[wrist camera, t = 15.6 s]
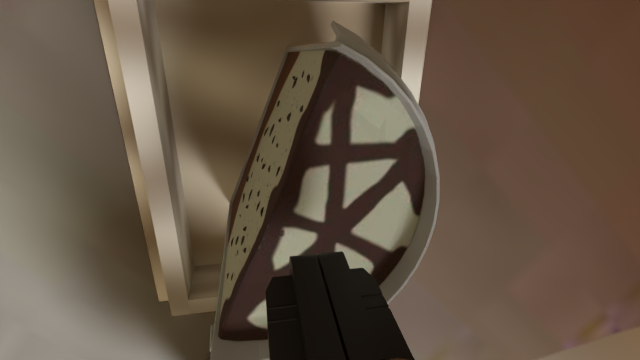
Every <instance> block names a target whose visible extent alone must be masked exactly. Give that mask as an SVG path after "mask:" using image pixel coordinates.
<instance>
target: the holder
mask: <svg viewBox="0 0 640 360" xmlns="http://www.w3.org/2000/svg"><path fill="white" fill-rule="evenodd" d="M94 4H95V8H96V13H97V18H98V22H99V27H100V32H101V36H102V41H103V45H104V50H105V55H106V59H107V64H108V68H109V73H110V78H111V82H112V87H113V91H114V96H115V101H116V105H117V110H118V115H119V119H120V124H121V128H122V133H123V138H124V142H125V147H126V151H127V156H128V161H129V165H130V170H131V175H132V179H133V184H134V188H135V193H136V198H137V202H138V207H139V211H140V216H141V221H142V225H143V230H144V234H145V239H146V244H147V248H148V253H149V258H150V262H151V267H152V271H153V276H154V281H155V285H156V290H157V294H158V299H159V302H160V301H169V305H170V310H171V315H172V316H178V315H187V314H195V313H204V312H212V311H216V307H217V299H218V291H219V283H220V275H221V267H222V259H223V251H224V243H225V235H226V227H227V219H228V211H229V204H230V201H231V198H232V195H233V192H234V190H235V187H236V184H237V181H238V179H239V176H240V173H241V170H242V168H243V165H244V162H245V160H246V157H247V154H248V151H249V149H250V146H251V143H252V140H253V138H254V135H255V132H256V129H257V127H258V124H259V121H260V119H261V116H262V113H263V110H264V108H265V105H266V102H267V99H268V97H269V94H270V91H271V88H272V86H273V83H274V80H275V77H276V75H277V72H278V69H279V67H280V64H281V61H282V58H283V56H284V53H285V50H286V47H289V46H298V45H306V44H314V43H323V42H331V41H335V39H336V35H335V33H334V31H333V29H332V27H331V26H330V25H331V23H332V21H335V22H337V23H338V24H340V25H342V26H343V27H345V28H347V29H348V30H350V31H352V32H354V33H355V34H357V35H358V36H360V37H361V38H362V39H363V40H364V41H365V42H367V43H368V44H369V45H370V46H371V47H373V48H374V49H375V50H376V51H377V52H379V53H380V54H381V55H382V56H383V57H384V59H385V60H386V61H387V62H388V63H389V65H390V66H391V67H392V68H393V69H394V71H395V72H396V73H397V74H398V75H399V77H400V78H401V79H402V80H403V82H404V83H405V84H406V86H407V87H408V88H409V90H410V91H411V92H412V94H413V96H414V98H415V100H416V101H417V103H418V102H419V95H420V87H421V80H422V73H423V65H424V58H425V50H426V43H427V35H428V28H429V20H430V13H431V6H432V0H94Z"/></svg>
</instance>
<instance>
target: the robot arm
mask: <svg viewBox="0 0 640 360" xmlns="http://www.w3.org/2000/svg"><path fill="white" fill-rule="evenodd" d="M265 292H266V311H267V329H268V345H269V360H415V359H414V358H413V356H412V354H411V352H410V350H409V348H408V346H407V344H406V341H405V339H404V337H403V335H402V333H401V331H400V329H399V327H398V325H397V323H396V321H395V318H394V316H393V314H392V312H391V310H390V309H389V308H388V304H387V302H386V300H385V298H384V296H383V293H382V291H381V289H380V287H379V285H378V283H377V281H376V279H375V278H374V277H373V276H372V275H370V274H369V273H368V272H367V271H366V270H365V269H364V268H354V269H350V267H349V265H348V262H347V260H346V257H345V255H344V253H343V252H342V251H340V252H329V253H319V254H317V255H316V254H309V255H299V256H290V257H289V275H287V276H277V277H272V279H271V281H270V283H269V285H268V287H267V289H266V291H265Z"/></svg>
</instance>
